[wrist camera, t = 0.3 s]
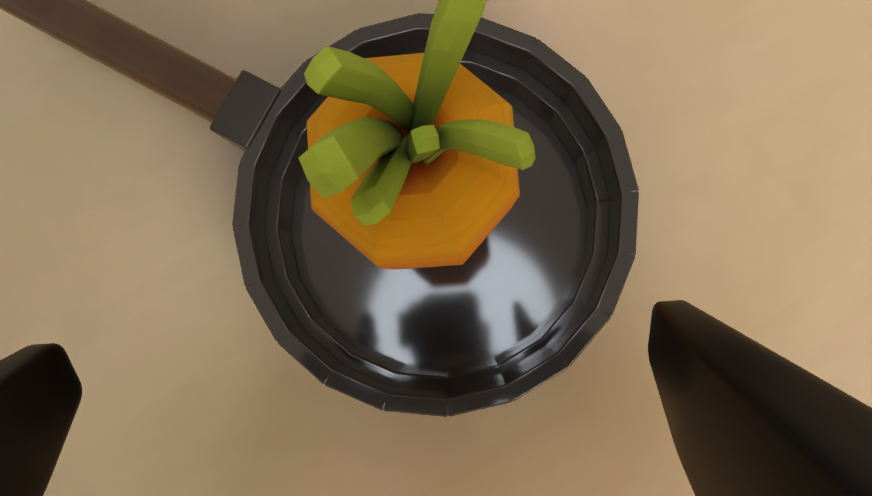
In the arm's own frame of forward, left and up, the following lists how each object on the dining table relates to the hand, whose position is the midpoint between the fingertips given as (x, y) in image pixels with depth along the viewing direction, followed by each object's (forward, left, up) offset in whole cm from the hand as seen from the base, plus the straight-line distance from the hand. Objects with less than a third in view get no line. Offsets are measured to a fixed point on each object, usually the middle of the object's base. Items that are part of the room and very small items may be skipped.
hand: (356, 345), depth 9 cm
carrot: (+3, -2, -14) cm, 15 cm away
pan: (+3, -2, -14) cm, 15 cm away
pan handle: (+14, +4, -13) cm, 19 cm away
